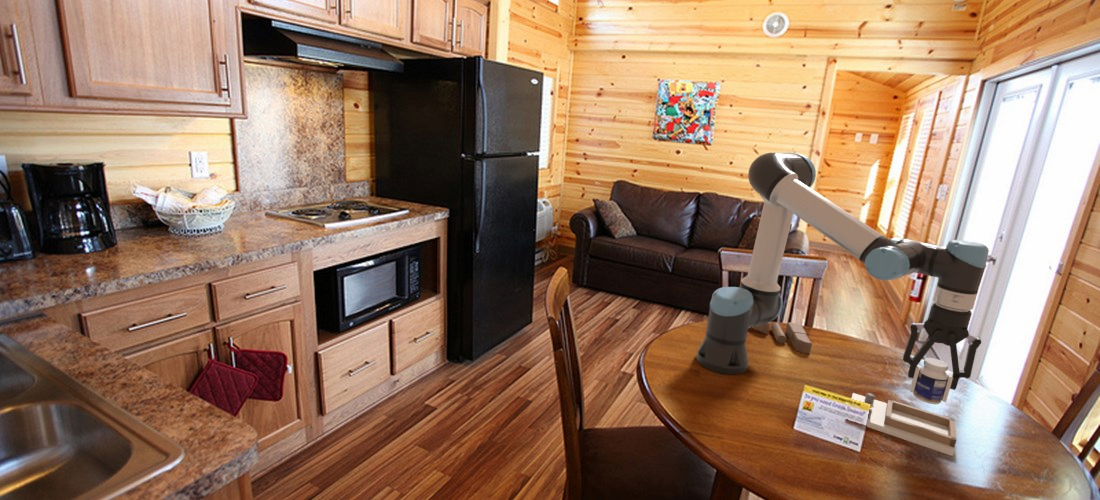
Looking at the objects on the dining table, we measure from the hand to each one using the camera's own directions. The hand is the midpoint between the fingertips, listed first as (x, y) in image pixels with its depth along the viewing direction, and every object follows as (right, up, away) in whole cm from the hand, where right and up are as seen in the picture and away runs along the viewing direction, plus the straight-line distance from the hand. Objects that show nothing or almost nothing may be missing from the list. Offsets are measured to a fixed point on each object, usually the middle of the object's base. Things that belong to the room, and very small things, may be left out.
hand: (927, 394), depth 123 cm
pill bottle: (0, -1, 0) cm, 1 cm away
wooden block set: (-13, +3, +53) cm, 54 cm away
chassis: (-4, -9, +5) cm, 11 cm away
